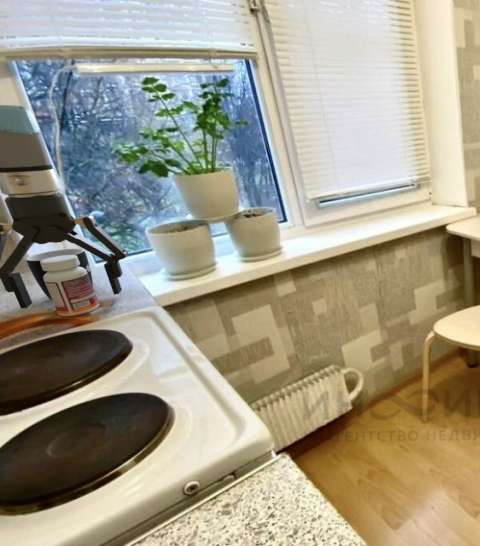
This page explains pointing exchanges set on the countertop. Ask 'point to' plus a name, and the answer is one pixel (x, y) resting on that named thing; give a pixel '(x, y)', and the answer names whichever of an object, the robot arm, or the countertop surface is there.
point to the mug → (35, 259)
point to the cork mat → (101, 304)
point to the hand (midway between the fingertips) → (74, 299)
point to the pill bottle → (69, 285)
